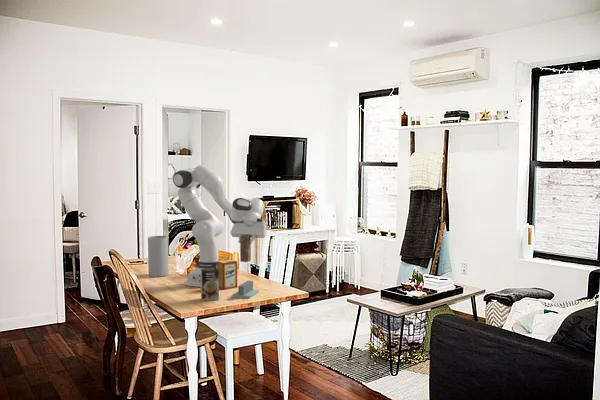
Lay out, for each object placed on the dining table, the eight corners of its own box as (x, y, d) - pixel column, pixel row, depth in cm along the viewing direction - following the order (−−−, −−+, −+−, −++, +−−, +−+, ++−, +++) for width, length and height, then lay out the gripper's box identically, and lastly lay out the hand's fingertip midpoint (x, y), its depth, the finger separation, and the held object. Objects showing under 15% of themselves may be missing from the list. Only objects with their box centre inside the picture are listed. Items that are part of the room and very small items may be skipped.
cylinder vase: (165, 277, 350) (164, 238, 348) (146, 277, 351) (145, 238, 349) (170, 273, 363) (169, 235, 361) (151, 273, 363) (151, 235, 361)
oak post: (240, 261, 302) (240, 236, 301) (243, 260, 306) (242, 235, 305) (248, 262, 301) (247, 236, 300) (250, 260, 305) (250, 235, 304)
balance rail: (232, 297, 300) (232, 285, 299) (242, 291, 313) (242, 280, 313) (249, 298, 297) (249, 286, 296) (258, 292, 310) (258, 281, 310)
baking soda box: (223, 289, 317) (223, 262, 316) (217, 287, 322) (217, 260, 321) (237, 287, 323) (237, 260, 322) (231, 285, 328) (231, 258, 327)
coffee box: (202, 301, 292) (201, 271, 290) (201, 298, 298) (200, 268, 297) (219, 300, 294) (218, 270, 293) (217, 297, 300) (217, 267, 299)
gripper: (232, 218, 311) (225, 238, 303) (266, 220, 306) (260, 240, 297) (236, 225, 316) (229, 245, 307) (269, 227, 310) (263, 246, 302)
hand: (244, 242), depth 302 cm, fingers closed on oak post, 4 cm apart
